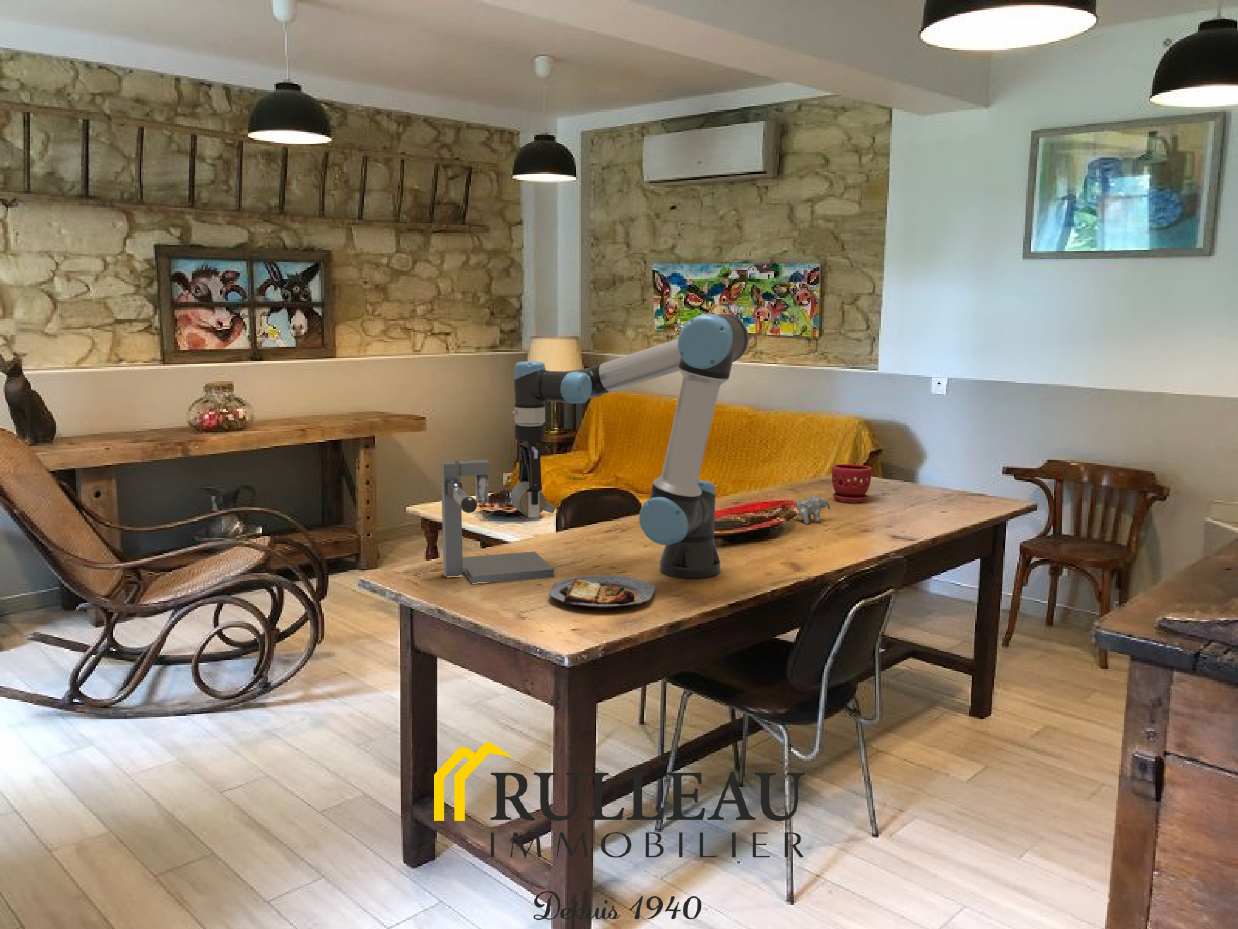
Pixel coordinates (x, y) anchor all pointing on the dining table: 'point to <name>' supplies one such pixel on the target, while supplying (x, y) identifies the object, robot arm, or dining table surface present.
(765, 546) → the dining table surface
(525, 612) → the dining table surface
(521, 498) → the ceramic mug
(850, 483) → the plant pot
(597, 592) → the food plate
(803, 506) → the elephant statuette
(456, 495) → the lever
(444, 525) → the press
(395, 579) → the dining table surface
